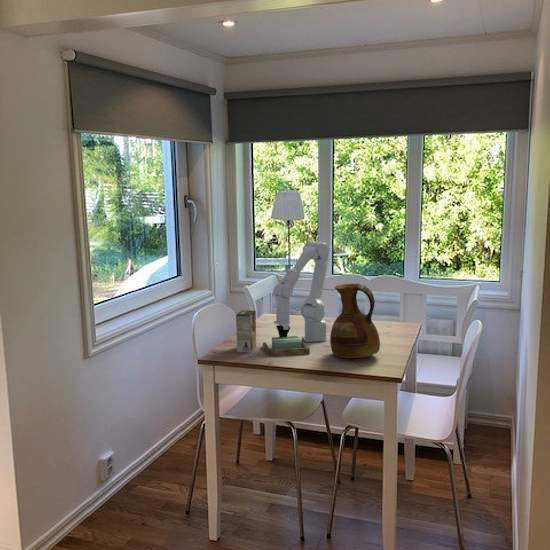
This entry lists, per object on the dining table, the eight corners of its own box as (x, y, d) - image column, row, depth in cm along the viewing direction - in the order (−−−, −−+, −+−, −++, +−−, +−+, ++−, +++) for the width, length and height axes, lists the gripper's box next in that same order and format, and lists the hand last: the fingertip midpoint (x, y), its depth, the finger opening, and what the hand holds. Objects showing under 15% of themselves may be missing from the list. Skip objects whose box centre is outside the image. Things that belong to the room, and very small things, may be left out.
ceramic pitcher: (337, 347, 254) (337, 278, 249) (384, 352, 247) (385, 281, 242) (323, 360, 236) (324, 286, 231) (374, 365, 229) (375, 289, 224)
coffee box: (242, 346, 257) (241, 309, 255) (256, 346, 256) (256, 310, 253) (236, 352, 248) (235, 314, 246) (251, 352, 247) (250, 315, 244)
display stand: (302, 344, 258) (302, 339, 258) (309, 354, 245) (309, 348, 244) (262, 346, 256) (262, 341, 255) (267, 356, 242) (267, 350, 241)
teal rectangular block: (297, 347, 256) (297, 335, 255) (301, 353, 247) (301, 341, 246) (271, 348, 254) (271, 337, 253) (275, 354, 245) (275, 342, 244)
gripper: (271, 308, 260) (271, 338, 262) (276, 315, 246) (276, 347, 248) (286, 307, 261) (286, 337, 263) (293, 314, 247) (293, 346, 249)
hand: (283, 342), depth 256 cm, fingers closed
